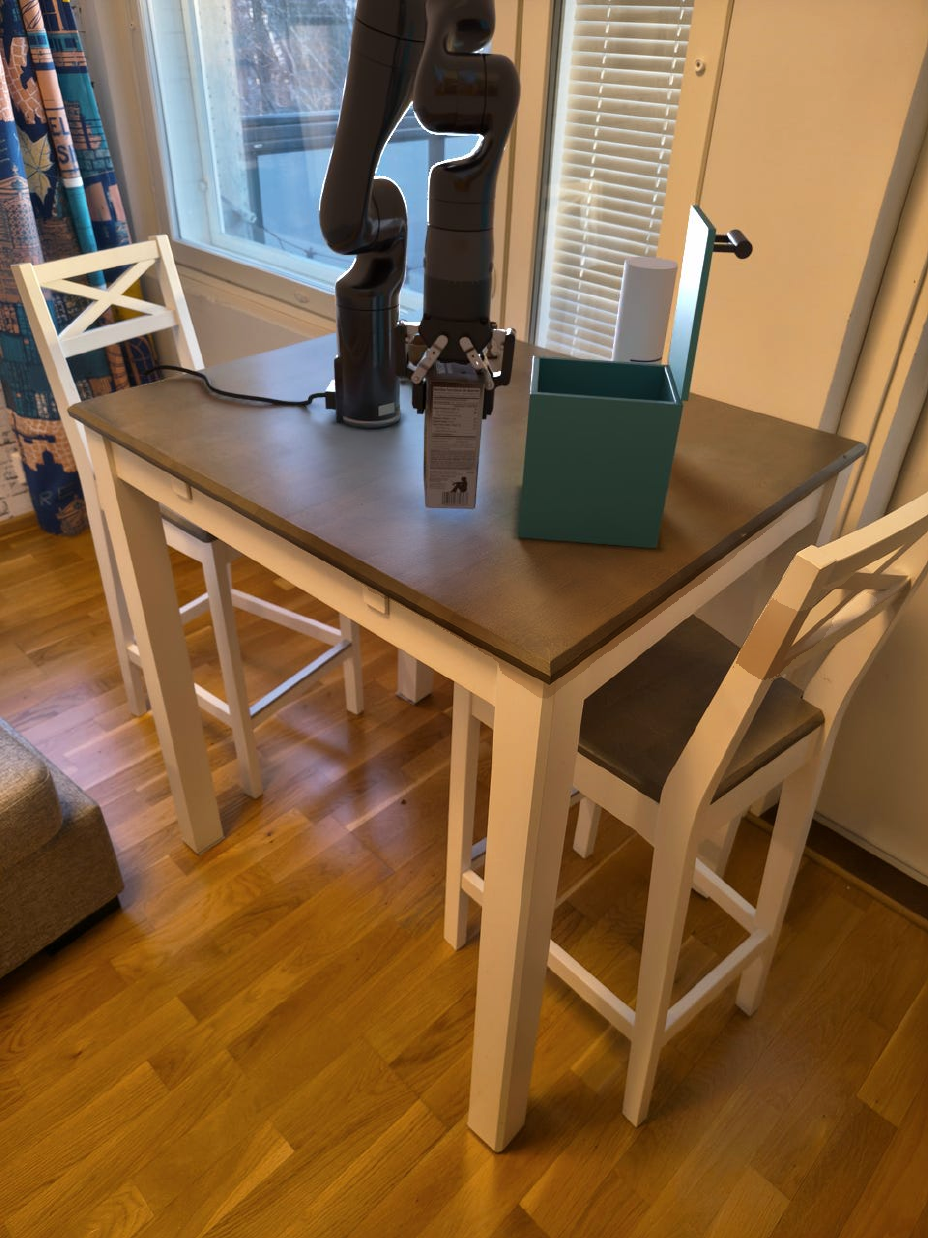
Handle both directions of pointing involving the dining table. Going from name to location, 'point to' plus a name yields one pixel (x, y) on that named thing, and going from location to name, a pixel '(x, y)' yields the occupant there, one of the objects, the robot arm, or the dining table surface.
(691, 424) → the dining table surface
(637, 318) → the cylindrical container
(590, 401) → the teal open box
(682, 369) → the cool box lid
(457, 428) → the coffee box
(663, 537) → the dining table surface
